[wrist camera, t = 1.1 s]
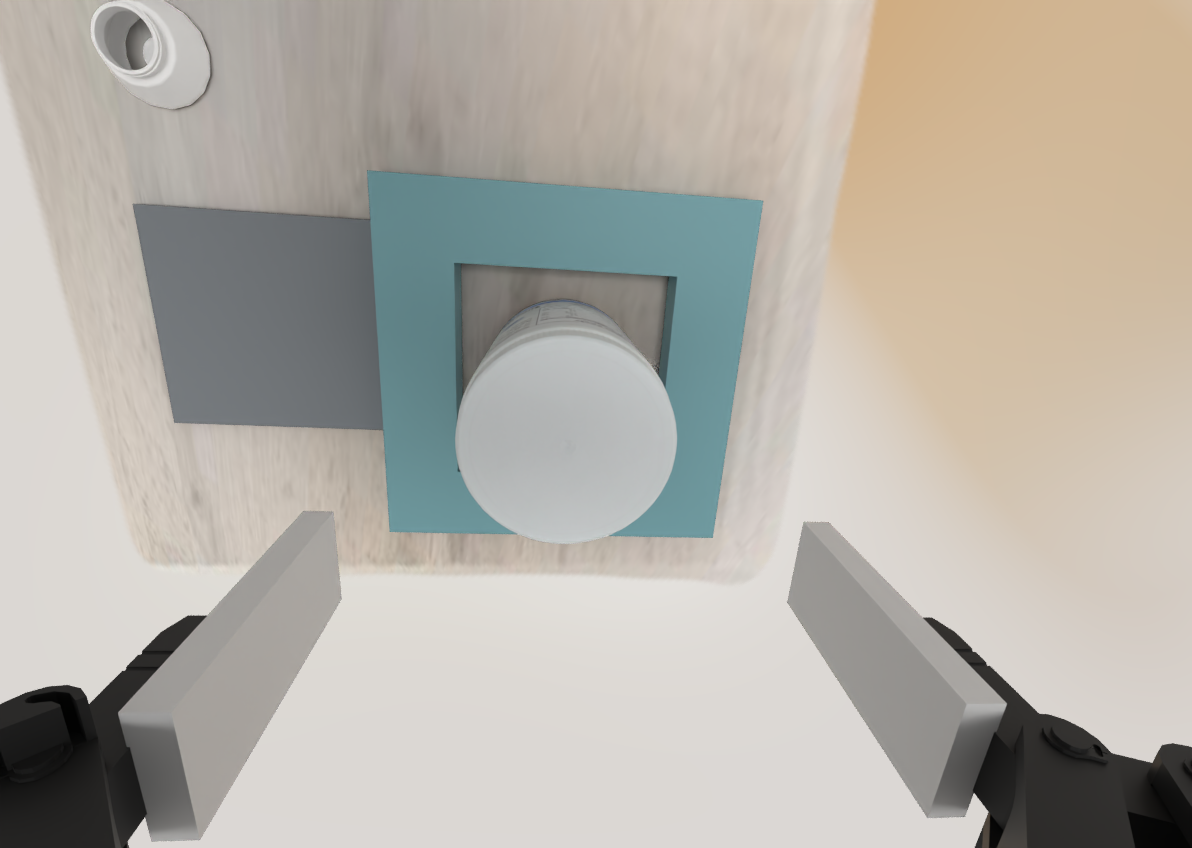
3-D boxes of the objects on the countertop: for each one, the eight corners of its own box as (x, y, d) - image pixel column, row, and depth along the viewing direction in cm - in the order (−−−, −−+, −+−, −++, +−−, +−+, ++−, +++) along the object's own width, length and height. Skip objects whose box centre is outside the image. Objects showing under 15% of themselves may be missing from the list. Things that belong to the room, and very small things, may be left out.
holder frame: (380, 175, 32) (367, 170, 30) (748, 203, 34) (763, 200, 32) (399, 513, 39) (389, 531, 37) (703, 520, 41) (712, 537, 39)
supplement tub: (611, 450, 39) (644, 571, 25) (476, 420, 37) (430, 530, 23) (650, 315, 36) (713, 366, 22) (506, 277, 34) (475, 305, 20)
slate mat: (140, 204, 31) (132, 203, 31) (374, 220, 33) (371, 220, 32) (180, 419, 36) (174, 422, 35) (387, 427, 37) (384, 430, 36)
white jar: (234, 70, 30) (158, -21, 28) (202, 53, 27) (116, -49, 26) (169, 129, 31) (92, 43, 29) (131, 119, 28) (43, 23, 26)
